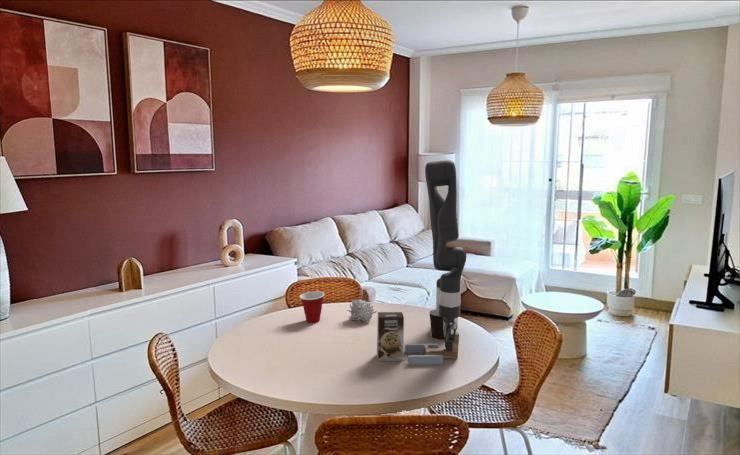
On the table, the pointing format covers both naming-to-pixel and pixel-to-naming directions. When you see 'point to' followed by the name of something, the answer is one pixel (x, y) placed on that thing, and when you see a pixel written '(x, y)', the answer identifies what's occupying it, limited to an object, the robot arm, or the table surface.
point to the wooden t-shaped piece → (444, 350)
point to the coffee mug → (436, 325)
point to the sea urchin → (361, 310)
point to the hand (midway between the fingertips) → (448, 349)
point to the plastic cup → (312, 305)
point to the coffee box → (390, 336)
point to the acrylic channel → (422, 358)
